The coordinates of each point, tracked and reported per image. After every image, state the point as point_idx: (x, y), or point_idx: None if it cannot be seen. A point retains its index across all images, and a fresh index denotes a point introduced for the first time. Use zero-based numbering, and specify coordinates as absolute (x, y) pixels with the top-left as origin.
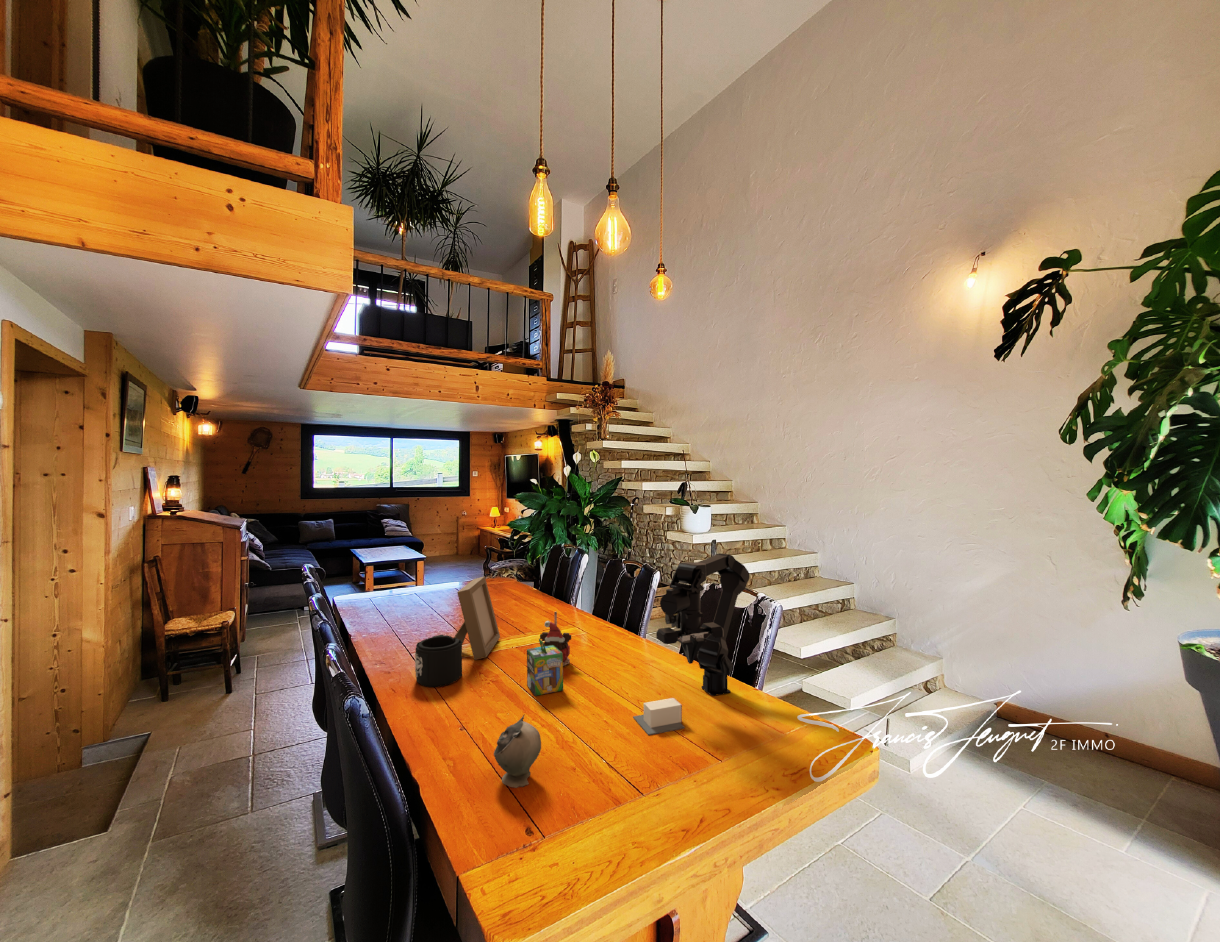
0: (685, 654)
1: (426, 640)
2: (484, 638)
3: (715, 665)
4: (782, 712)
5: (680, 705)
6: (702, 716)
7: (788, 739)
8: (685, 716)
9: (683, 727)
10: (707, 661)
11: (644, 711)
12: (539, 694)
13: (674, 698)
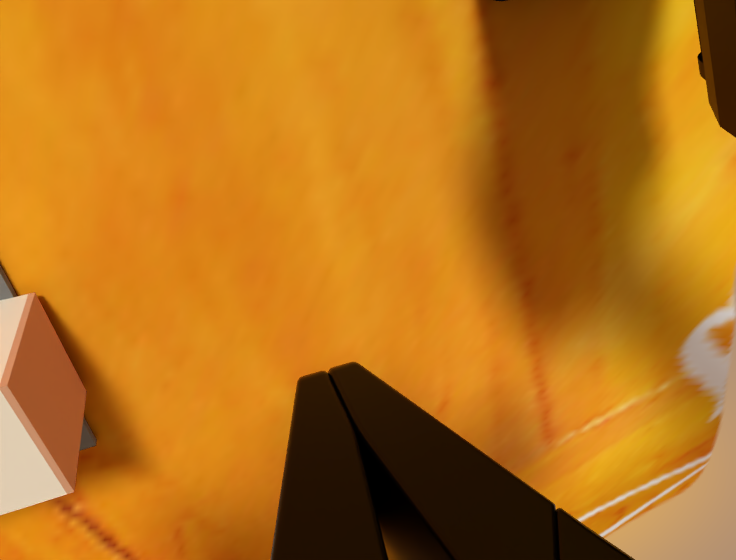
0: (276, 522)
1: None
2: None
3: (724, 124)
4: (683, 286)
5: (60, 493)
6: (264, 309)
7: (533, 477)
8: (135, 305)
9: (85, 448)
10: (729, 10)
11: None
12: None
13: (11, 399)
